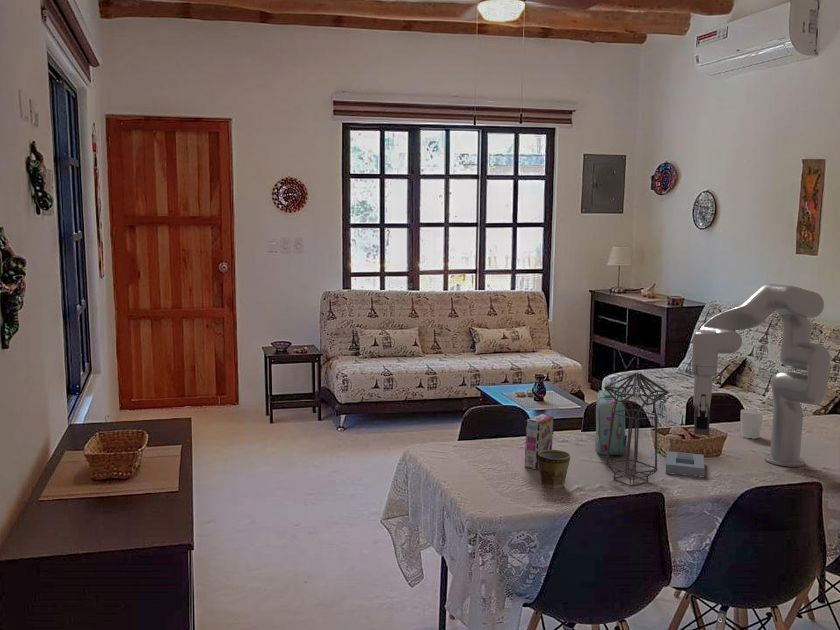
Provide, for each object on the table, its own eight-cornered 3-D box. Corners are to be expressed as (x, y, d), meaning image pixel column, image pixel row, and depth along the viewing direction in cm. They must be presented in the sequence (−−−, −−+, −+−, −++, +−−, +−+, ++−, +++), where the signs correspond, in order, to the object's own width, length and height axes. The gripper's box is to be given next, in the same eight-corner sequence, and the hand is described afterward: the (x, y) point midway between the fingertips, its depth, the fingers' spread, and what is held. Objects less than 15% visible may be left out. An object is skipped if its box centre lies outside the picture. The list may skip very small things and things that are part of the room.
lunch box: (626, 460, 281) (629, 400, 279) (596, 459, 283) (599, 398, 280) (621, 440, 307) (623, 384, 305) (593, 438, 309) (595, 383, 306)
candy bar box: (537, 470, 269) (539, 422, 267) (524, 467, 272) (525, 419, 270) (552, 462, 278) (554, 415, 276) (539, 459, 281) (541, 413, 279)
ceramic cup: (574, 489, 251) (576, 457, 250) (545, 491, 248) (546, 460, 247) (556, 476, 264) (557, 446, 262) (527, 478, 261) (528, 448, 260)
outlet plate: (666, 459, 283) (667, 450, 283) (703, 463, 280) (703, 454, 279) (665, 473, 268) (665, 463, 268) (703, 477, 265) (704, 467, 264)
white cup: (735, 434, 318) (736, 409, 317) (754, 433, 319) (756, 408, 318) (745, 439, 311) (747, 414, 309) (765, 439, 311) (766, 413, 310)
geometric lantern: (595, 477, 263) (601, 370, 260) (632, 471, 271) (637, 367, 268) (630, 491, 250) (637, 378, 246) (667, 484, 257) (674, 375, 254)
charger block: (694, 430, 262) (695, 405, 260) (708, 431, 260) (709, 406, 259) (694, 434, 257) (695, 409, 256) (708, 435, 256) (710, 410, 255)
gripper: (691, 364, 265) (689, 419, 268) (691, 374, 249) (689, 432, 252) (716, 366, 263) (713, 421, 265) (718, 376, 247) (715, 434, 249)
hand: (701, 426), depth 259 cm, fingers closed on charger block, 4 cm apart
